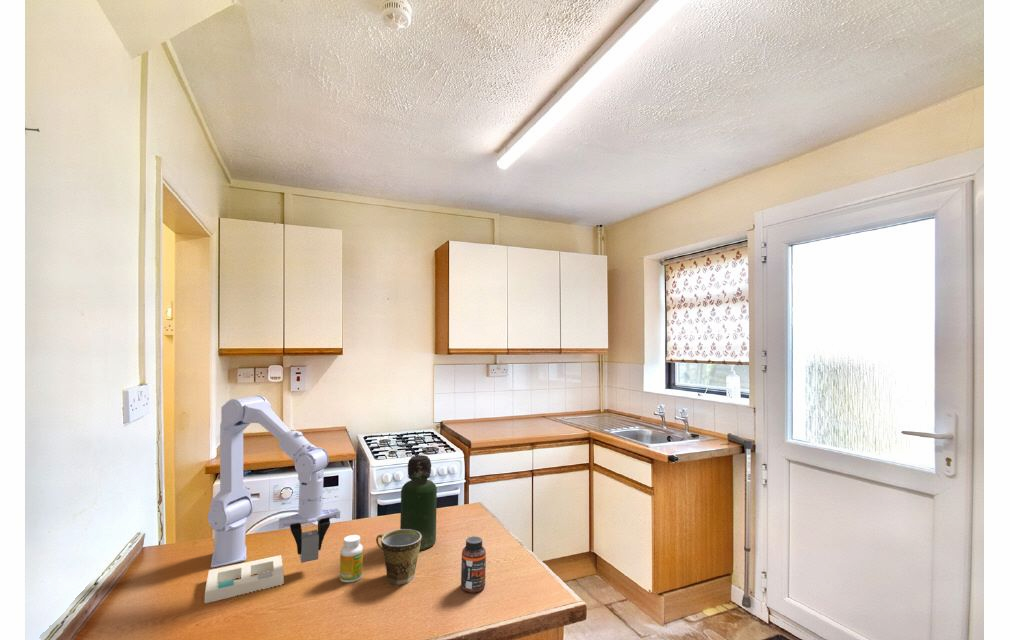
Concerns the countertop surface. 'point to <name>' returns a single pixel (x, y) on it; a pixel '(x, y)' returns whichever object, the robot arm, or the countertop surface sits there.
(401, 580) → the ceramic cup
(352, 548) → the supplement bottle
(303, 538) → the plug
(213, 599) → the socket board
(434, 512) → the green bottle
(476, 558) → the supplement bottle
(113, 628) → the countertop surface
